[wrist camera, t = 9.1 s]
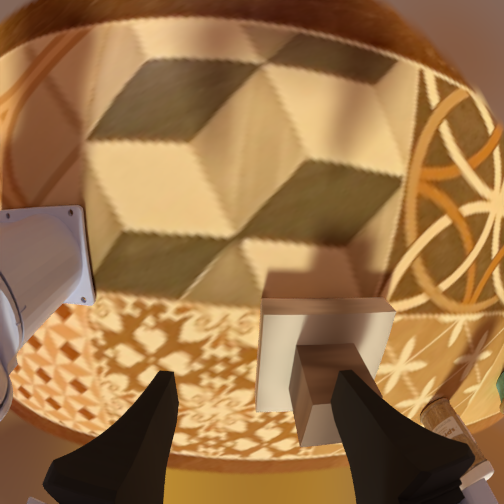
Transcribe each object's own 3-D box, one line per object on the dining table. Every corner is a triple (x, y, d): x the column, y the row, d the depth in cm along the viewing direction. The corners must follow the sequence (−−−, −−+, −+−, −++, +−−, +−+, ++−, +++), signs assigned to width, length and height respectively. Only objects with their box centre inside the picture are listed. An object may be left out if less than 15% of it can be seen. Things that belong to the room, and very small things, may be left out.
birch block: (254, 388, 26) (256, 412, 23) (260, 294, 23) (263, 314, 20) (355, 383, 26) (364, 403, 24) (380, 293, 23) (396, 311, 20)
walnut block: (288, 388, 22) (300, 447, 17) (295, 345, 21) (312, 405, 15) (341, 385, 22) (362, 439, 17) (353, 342, 21) (382, 397, 15)
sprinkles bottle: (426, 401, 28) (474, 482, 15) (453, 393, 28) (502, 465, 15) (413, 424, 29) (453, 502, 17) (439, 416, 30) (481, 487, 17)
